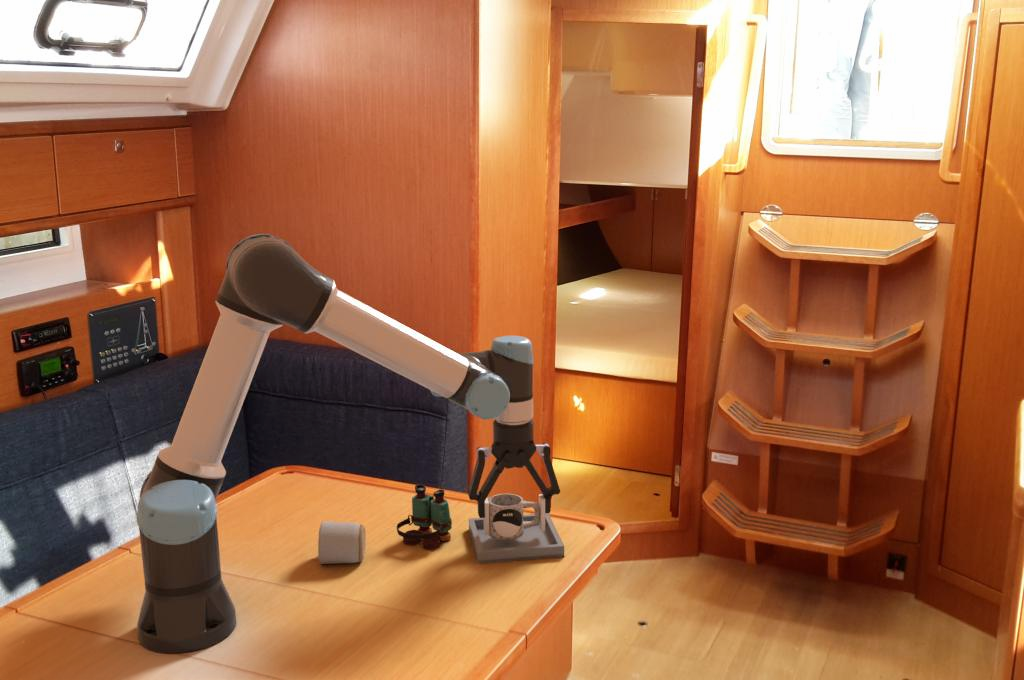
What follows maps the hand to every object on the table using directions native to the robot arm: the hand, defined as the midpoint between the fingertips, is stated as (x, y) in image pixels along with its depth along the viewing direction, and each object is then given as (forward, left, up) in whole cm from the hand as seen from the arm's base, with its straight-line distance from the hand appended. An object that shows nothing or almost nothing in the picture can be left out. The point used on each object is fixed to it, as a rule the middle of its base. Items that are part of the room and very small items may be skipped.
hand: (514, 530), depth 197 cm
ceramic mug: (-33, -1, -3) cm, 33 cm away
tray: (0, 0, -2) cm, 2 cm away
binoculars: (-17, +3, -3) cm, 17 cm away
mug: (0, 0, 0) cm, 0 cm away
